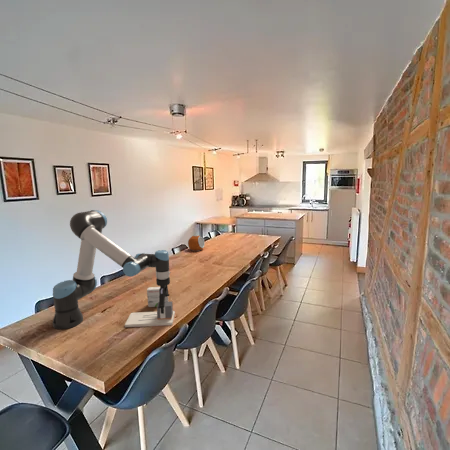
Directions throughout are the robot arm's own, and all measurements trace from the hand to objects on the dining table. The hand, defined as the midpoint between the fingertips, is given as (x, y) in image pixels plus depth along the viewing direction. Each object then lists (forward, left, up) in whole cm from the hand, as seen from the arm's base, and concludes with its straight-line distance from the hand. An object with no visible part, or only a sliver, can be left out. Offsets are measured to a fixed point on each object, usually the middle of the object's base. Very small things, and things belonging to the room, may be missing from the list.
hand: (164, 312), depth 161 cm
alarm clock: (+14, +161, -5) cm, 162 cm away
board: (-8, 0, -4) cm, 9 cm away
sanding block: (0, 0, -3) cm, 3 cm away
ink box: (-9, +19, -5) cm, 22 cm away
